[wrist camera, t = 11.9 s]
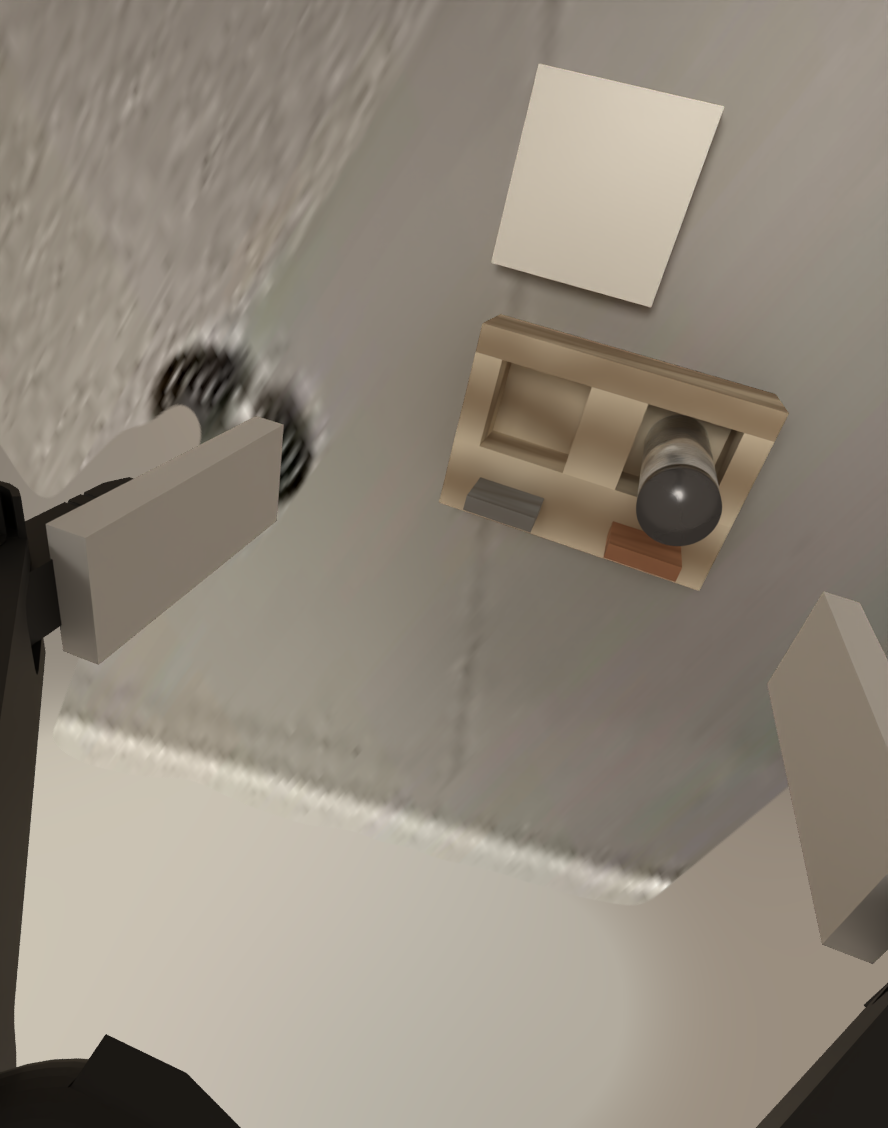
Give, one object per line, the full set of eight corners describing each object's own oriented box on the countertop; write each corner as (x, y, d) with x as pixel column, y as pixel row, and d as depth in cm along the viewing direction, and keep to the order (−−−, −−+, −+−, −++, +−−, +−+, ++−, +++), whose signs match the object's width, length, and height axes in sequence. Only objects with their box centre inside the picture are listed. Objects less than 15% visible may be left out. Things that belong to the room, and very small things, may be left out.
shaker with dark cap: (658, 406, 42) (654, 458, 32) (720, 426, 41) (737, 485, 31) (634, 463, 44) (623, 530, 34) (693, 483, 43) (700, 557, 33)
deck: (544, 71, 37) (538, 63, 35) (721, 112, 36) (724, 106, 34) (498, 261, 42) (491, 262, 40) (651, 304, 40) (650, 307, 39)
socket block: (500, 314, 43) (467, 331, 36) (775, 394, 41) (800, 429, 33) (458, 478, 49) (422, 521, 42) (695, 557, 47) (701, 618, 39)
